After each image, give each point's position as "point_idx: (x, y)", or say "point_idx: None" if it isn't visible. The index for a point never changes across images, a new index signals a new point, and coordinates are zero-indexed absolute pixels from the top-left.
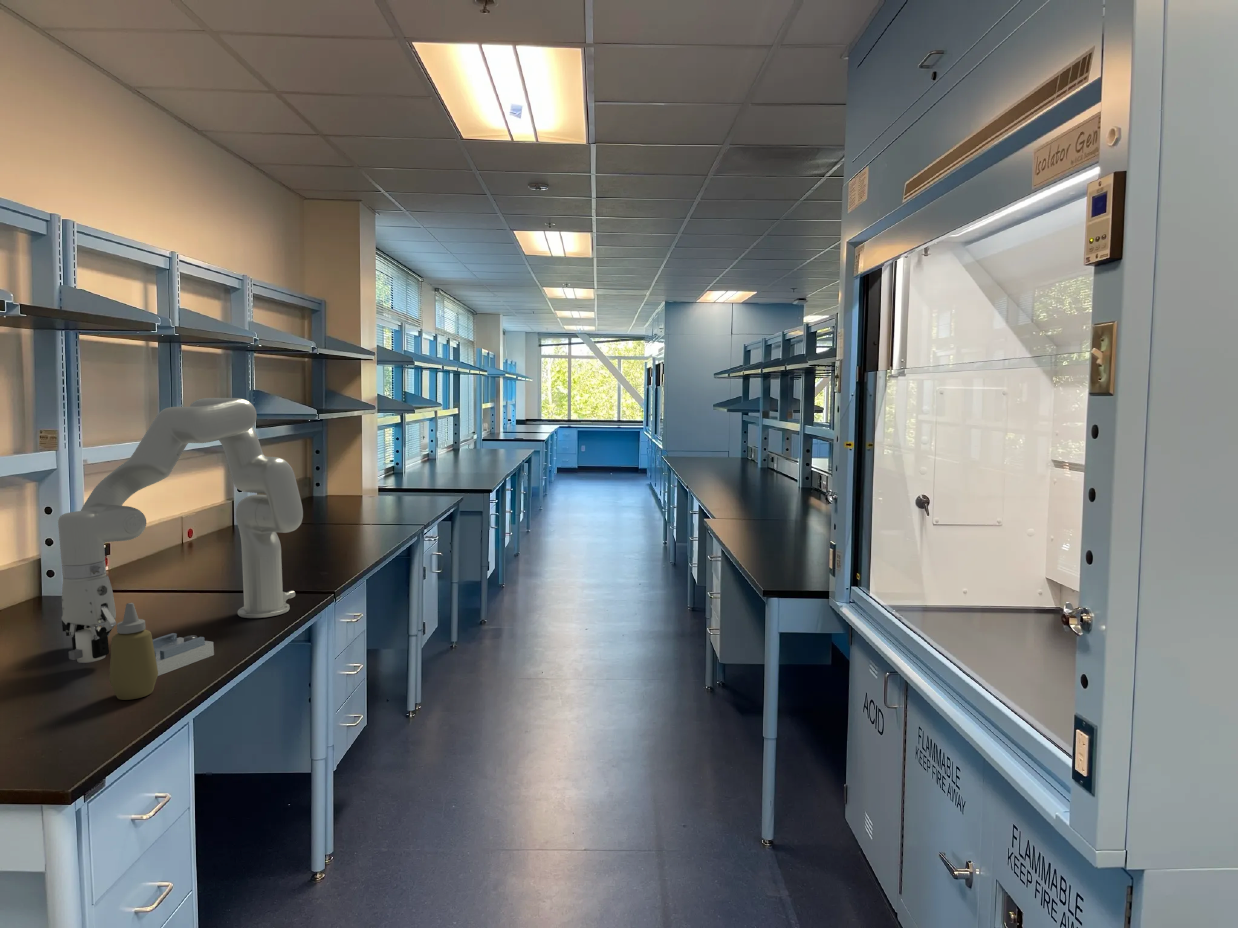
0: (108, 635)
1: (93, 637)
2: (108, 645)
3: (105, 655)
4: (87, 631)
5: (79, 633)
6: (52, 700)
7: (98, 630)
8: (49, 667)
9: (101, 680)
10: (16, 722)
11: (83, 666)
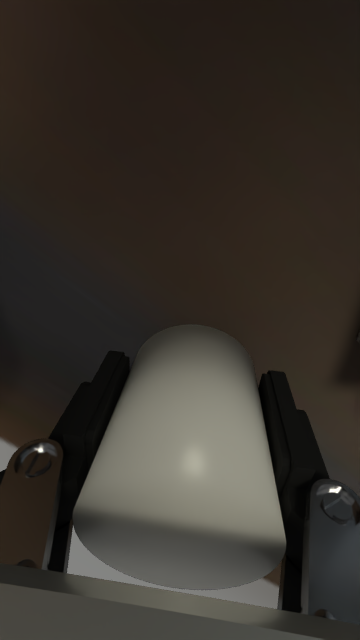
0: (351, 497)
1: (284, 554)
2: (294, 404)
3: (245, 351)
4: (176, 548)
5: (161, 575)
6: None
7: (251, 532)
8: (15, 362)
9: (345, 432)
10: None
11: (129, 330)
